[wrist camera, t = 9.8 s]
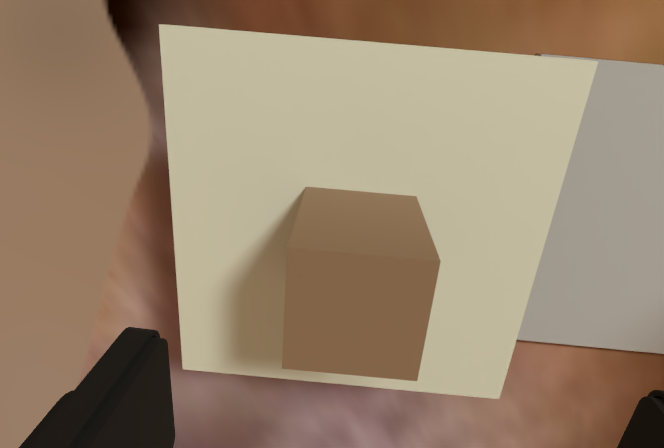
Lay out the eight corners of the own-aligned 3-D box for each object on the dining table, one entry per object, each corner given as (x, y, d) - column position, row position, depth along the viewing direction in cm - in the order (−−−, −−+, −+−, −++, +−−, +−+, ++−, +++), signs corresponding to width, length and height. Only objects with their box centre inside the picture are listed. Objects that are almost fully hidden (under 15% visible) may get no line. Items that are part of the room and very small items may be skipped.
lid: (586, 59, 15) (715, 75, 10) (493, 385, 20) (542, 510, 15) (168, 24, 15) (66, 20, 10) (188, 357, 21) (130, 470, 15)
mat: (874, 84, 21) (888, 85, 21) (728, 354, 28) (736, 361, 27) (536, 53, 21) (541, 54, 21) (468, 329, 28) (470, 335, 27)
